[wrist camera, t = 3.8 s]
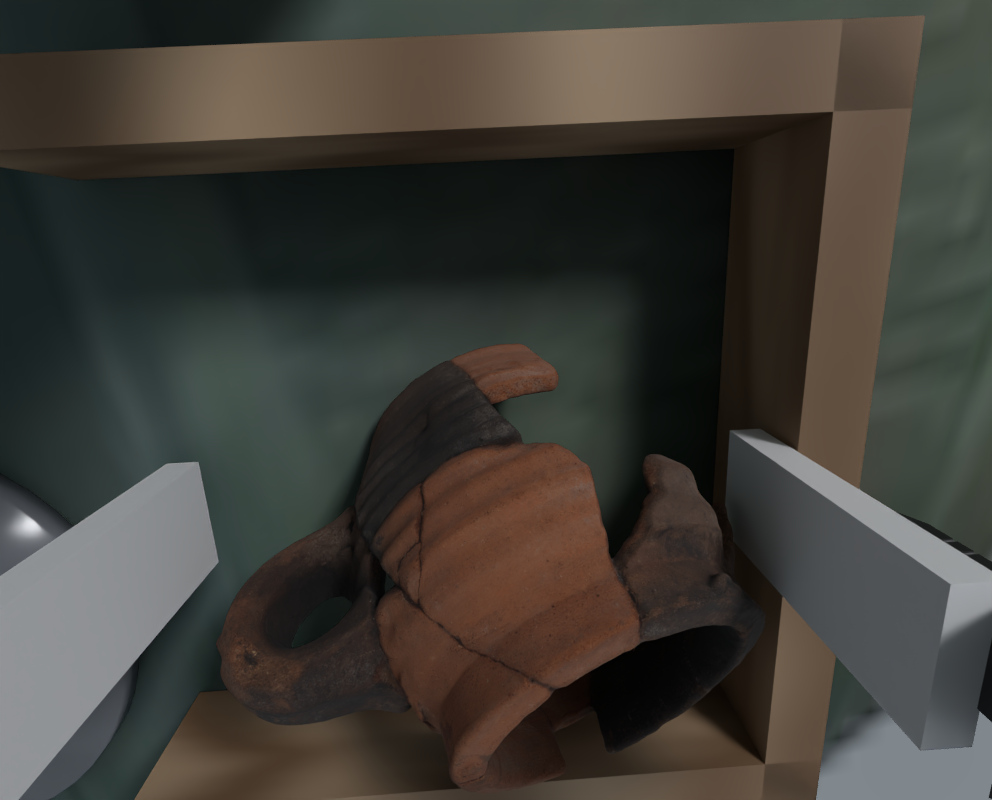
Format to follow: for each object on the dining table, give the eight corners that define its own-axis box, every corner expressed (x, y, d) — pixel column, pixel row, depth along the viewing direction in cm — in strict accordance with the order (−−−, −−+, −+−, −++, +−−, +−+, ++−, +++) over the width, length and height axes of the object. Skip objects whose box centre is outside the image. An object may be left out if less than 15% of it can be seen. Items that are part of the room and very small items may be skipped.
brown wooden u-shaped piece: (208, 729, 18) (138, 858, 14) (62, 113, 13) (-107, 58, 9) (744, 689, 19) (815, 803, 15) (797, 80, 14) (924, 15, 10)
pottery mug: (617, 278, 15) (870, 503, 9) (604, 492, 21) (749, 706, 15) (152, 417, 13) (90, 842, 7) (294, 611, 19) (327, 917, 13)
